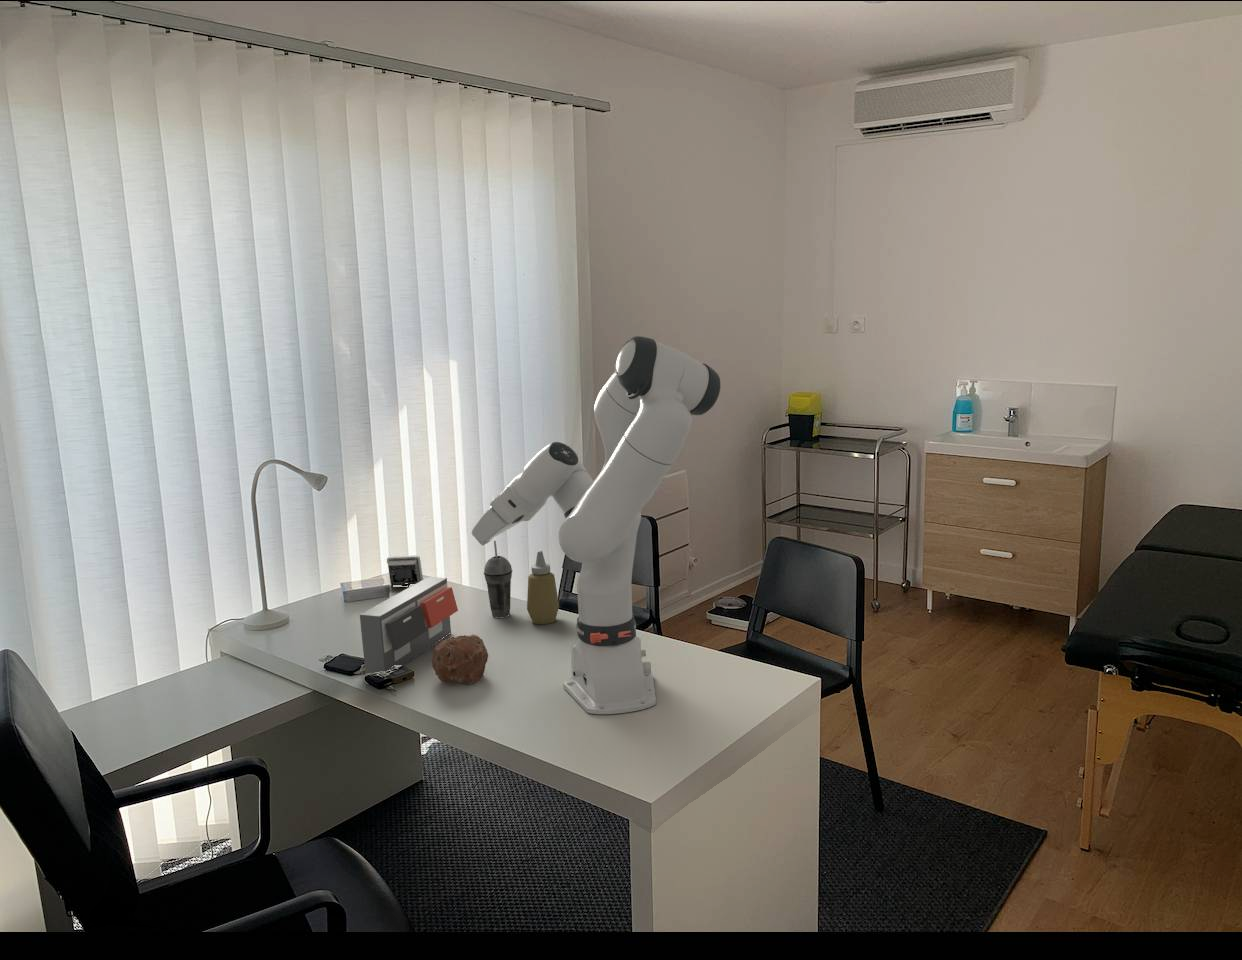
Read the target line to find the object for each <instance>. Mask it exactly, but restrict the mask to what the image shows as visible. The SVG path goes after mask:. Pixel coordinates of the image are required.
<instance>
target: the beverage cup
mask: <svg viewBox="0 0 1242 960" xmlns="http://www.w3.org/2000/svg"><path fill="white" fill-rule="evenodd" d="M493 547H494V555H493V556H492V557H491V558H489V559H487V561H486V562H485V565H484V570H483V575H484V580H485V582H486V587H487V594H488V601H489V606H490V611H491V616H493V618H494V617H498V618H497V619H501V618H500V617H505V618H507V617H506V616H508V615H509V614H510V613H511V612H510V611H511V595H512V594H511V591H512V590H511V587H512V584H511V583H512V581H511V580H512V577H513V576H512V575H513V569H512V568H513V567H512V565H511V563H510V561H509V560H508V559H507V558H506V557H504V556H501V555H498V548H497V540H493ZM510 615H511V614H510ZM510 615H509V616H510ZM509 616H508V617H509Z"/></svg>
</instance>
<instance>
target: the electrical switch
mask: <svg viewBox="0 0 1242 960" xmlns="http://www.w3.org/2000/svg"><path fill="white" fill-rule="evenodd" d="M421 563H422V561H421V557H420V556H419V555H418V554H417V555H416V554H415V555H398V556H397V555H395V556H388V557H387V559H386V564H387V569H388V573H389V582H390V583H389V584H390V585H391V588H392V586H393V585H402V584H403V585H405V583H408V585H409V584H416V583H418V582H420V581H422V580H424V576H423V570H422V569H423V568H422V564H421Z"/></svg>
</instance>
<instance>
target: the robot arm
mask: <svg viewBox="0 0 1242 960" xmlns="http://www.w3.org/2000/svg"><path fill="white" fill-rule="evenodd" d="M720 392H721V378H720V375H719V374H718V372H716V371H715V370H714V369H713V368H712V367H710V366H709V365H708V364H706V363H701V361H698V360H697V359H695V358H693V357H692V356H690V355H688V354H686V353H684V352H683V351H681V350H680V349H678V348H676V347H673V346H670V345H669V344H664V343H663V342H658V341H656V340H655V339H653V338H650V337H646V336H639V335H636V336H633V337H631V338H630V339H628V340H627V341H626V342H625V343H624V344H623V345H622V347H621V348H620V350H619V351H618V355H617V357H616V359H615V364H614V372H613V373H612V374H611V376H610V377H609V378H608V380H607V381H606V383H604V385H603V386H602V388H601V389H600V391H599V392H598V394H597V396H596V400H595V402H594V407H593V413H594V415H593V416H594V419H595V423H596V425H597V428H598V431H599V433H600V437H601V439H602V443H603V448H604V455H605V457H604V464H603V466H602V468H601V469H600V470H601V471H600V472H599V473H598V475H597V476H596V478H595V479H594V480H593V478H592V477H591V475H590V474H589V472H588V470H587V469H586V467H585V466H584V464H583V463H582V462H581V460H579V457H578V455H577V453H576V451H574V450H573V448H572V447H570V446H569V445H567V444H566V443H563V442H561V441H560V442H559V441H554V442H551V443H549V444H547V445H546V446H545V447H543V448H542V449H541V450H540V451H538V452H537V453H536V454H535V455H534V456H533V457H532V458H531V459H530V460H529V461H528V462H527V463H526V465H525V466H524V467H523V470H522V472H521V473H519V474H518V475H516V476H515V477H514V478H513V479H512V480H511V481H510V482H509V483H508V484H507V485H506V487H504V488H503V490H502V491H501V492H500V493H499V494H497V496H495V498H493V500H492V501H490V503H489V505H490V507H489V508H488V509H487V510H486V511H485V513H484V514H483V515H482V516H481V517H480V519H479V520H478V521H477V522H476V524H475V525H474V526H473V527H472V528H473V529H472V531H471V535H472V536H473V537H474V538H475V540H476V541H477V542H478V543H479V544H480V545H481V546H485V545H486V544H488V543H491V541H492V540H493V539H494V538H495V537H497V536H499V535H501V534H503V533H504V532H506V531H507V530H510V529H511V528H513V527H515V526H516V525H519V524H520V523H521V522H528V521H529V522H530V521H531V520H532V519H533V518H534V517H535V516H536V514H538V512H540V511H541V509H542V508H543V507H544V506H545V504H546V503H547V501H548V499H549V498H550V497H552V498H553V500H554V502H555V503H556V504H557V506H558V507H559V509H560V510H561V512H562V513H563V514H564V518H565V520H564V521H563V522H562V523H561V525H560V527H559V531H558V543H559V546H560V548H561V550H562V552H563V553H564V554H565V556H566V557H568V559H570V560H572V561H574V562H576V563H581V569H580V572H579V575H578V577H577V582H576V586H577V587H576V589H577V591H576V592H577V609H578V617H577V618H576V632H577V633H576V634H577V637H578V638H577V639H576V641H575V643H574V644H572V646H571V647H570V668H571V669H570V676H571V677H570V678H568V679H565V680H564V681H563V689H565V691H566V692H567V693H568V694H569V695H570V696H571V697H572V698H573V699H574V700H575V701H576V703H578V704H579V706H580V707H581V708H582V709H583V710H584V711H585V712H586V713H588V714H590V715H591V714H593V715H615V714H625V713H631V712H637V711H641V710H645V709H649V708H652V707H653V706H655V705H657V698H656V692H655V683H654V676H653V672H652V665H651V664H652V663H651V661H643V657H644V658H645V657H647V651H646V649H642V641H641V640H642V639H641V638H640V637H638V636H637V632H636V631H637V629H636V628H637V623H636V620H635V616H634V614H633V597H632V595H633V593H632V575H633V568H634V561H635V553H636V546H637V537H638V532H639V527H640V523H641V521H642V512H641V511H642V509H643V508H645V506H646V504H647V503H648V502H649V501H650V500H651V499H652V497H653V496H654V494H655V492H656V491H657V490H658V488H659V486H660V485H661V483H662V481H663V480H664V478H665V477H666V475H667V473H668V472H669V471H670V469H671V467H672V466H673V464H674V463H675V461H676V459H677V458H678V455H679V453H680V452H681V450H682V447H683V445H684V444H685V441H686V439H687V438H688V434H689V431H690V429H691V426H692V423H693V422H692V421H693V418H692V417H693V416H701V415H704V414H706V413H708V411H710V410H711V409H712V408H713V407H714V406H715V404H716V402H717V401H718V398H719V396H720Z"/></svg>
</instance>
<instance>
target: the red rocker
mask: <svg viewBox="0 0 1242 960" xmlns="http://www.w3.org/2000/svg"><path fill="white" fill-rule="evenodd" d="M421 607H422V610H423V614H424V617H425V621H426V624H427V628H432V627H434V626H435V625H437V624H438V623H440V622H441V621H443V620H444V619H446V618H448V617H449V616H450V617H451V616H453V614H455V613H457V612H458V611H459V609H458V605H457V601H456V597H455V595H454V590H453V587H452V586H449V587H448V586H447V588H446V589H444V590H442V591H441V592H439V593H437V594H436V595H434V596H432V597H431V598H429V599H427V600H425V601H424V602H422V603H421Z"/></svg>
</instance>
